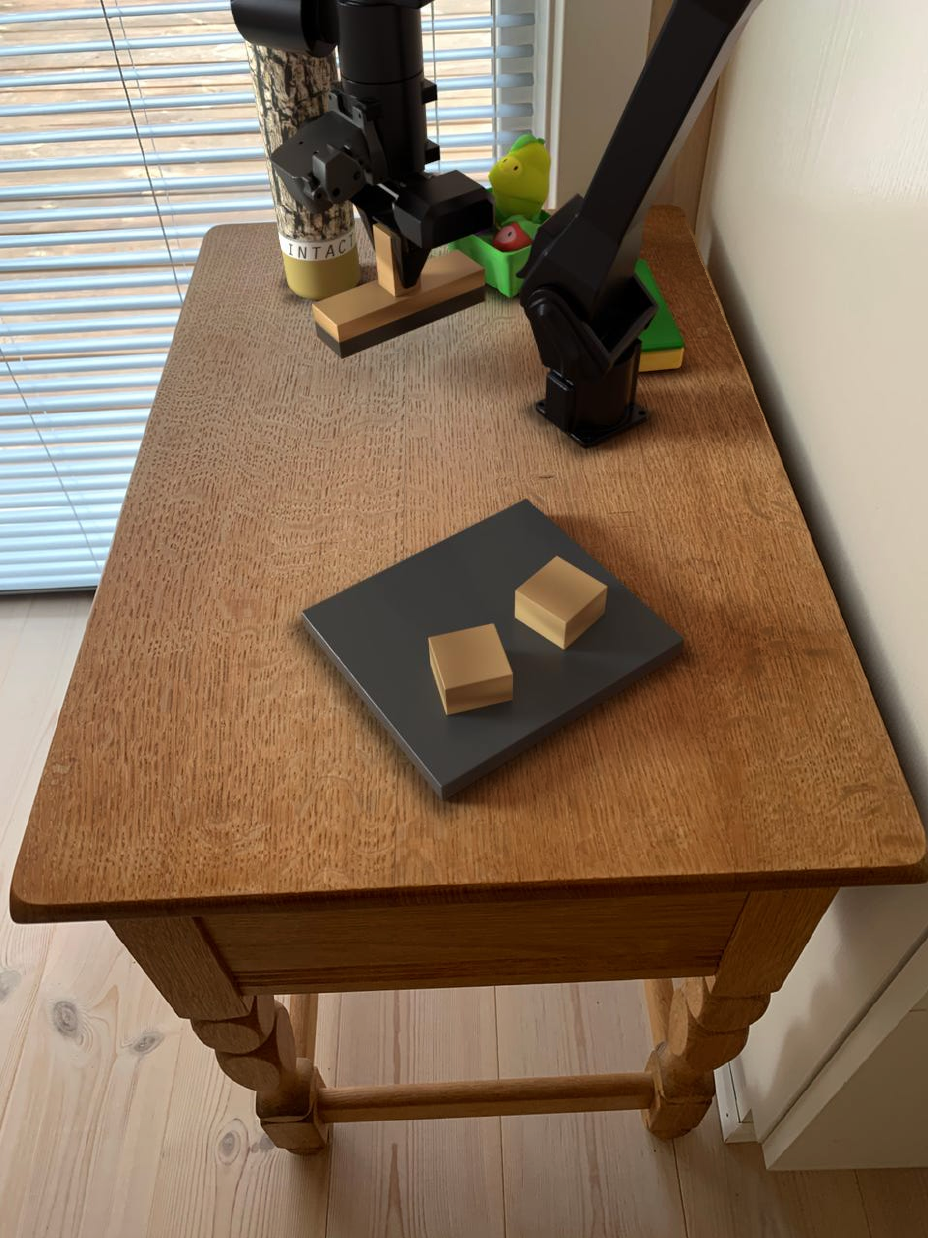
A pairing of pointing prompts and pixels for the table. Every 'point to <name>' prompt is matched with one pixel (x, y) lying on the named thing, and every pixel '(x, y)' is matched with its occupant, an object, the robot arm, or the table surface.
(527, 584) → the cork piece
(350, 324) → the brush
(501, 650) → the cork piece
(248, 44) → the paper tube
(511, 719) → the serving board
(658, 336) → the dish sponge
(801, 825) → the table surface
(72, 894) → the table surface
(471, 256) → the fruit basket
